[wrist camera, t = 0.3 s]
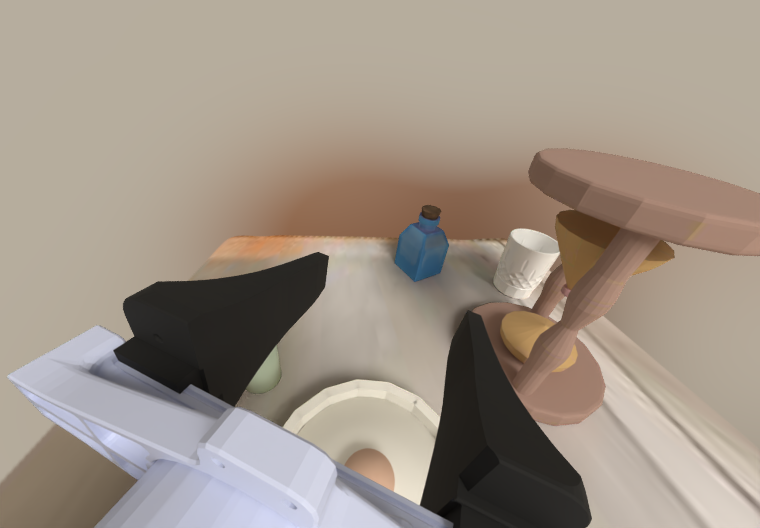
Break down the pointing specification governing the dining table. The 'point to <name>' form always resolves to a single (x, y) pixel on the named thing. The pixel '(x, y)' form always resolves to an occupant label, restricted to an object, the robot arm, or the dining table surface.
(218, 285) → the robot arm
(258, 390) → the pale green rounded block
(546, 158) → the hourglass
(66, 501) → the dining table surface
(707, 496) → the dining table surface
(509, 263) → the white cup
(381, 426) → the groove tray
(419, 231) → the perfume bottle
